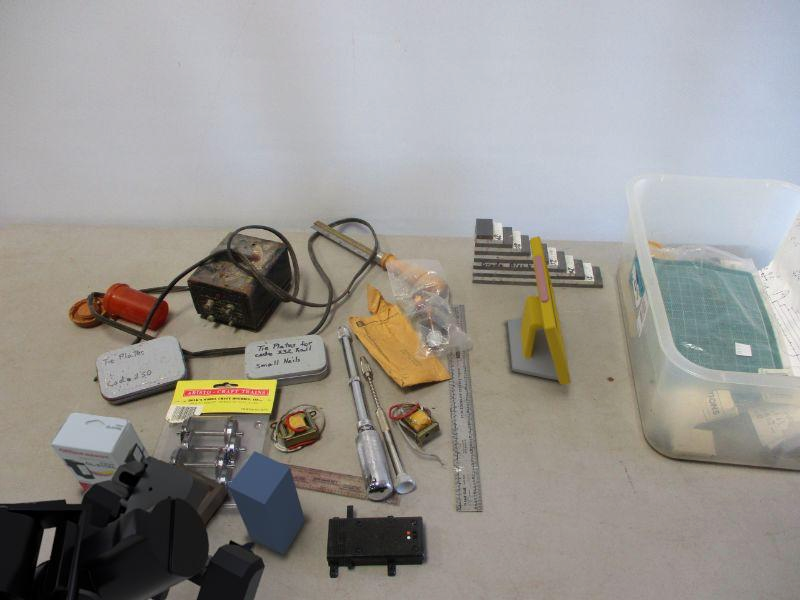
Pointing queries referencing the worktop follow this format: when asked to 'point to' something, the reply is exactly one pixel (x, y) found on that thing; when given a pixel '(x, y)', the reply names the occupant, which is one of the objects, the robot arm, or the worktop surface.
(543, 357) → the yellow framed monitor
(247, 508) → the blue faceted prism
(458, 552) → the worktop surface
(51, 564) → the robot arm
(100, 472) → the ink box
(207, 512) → the base pad
